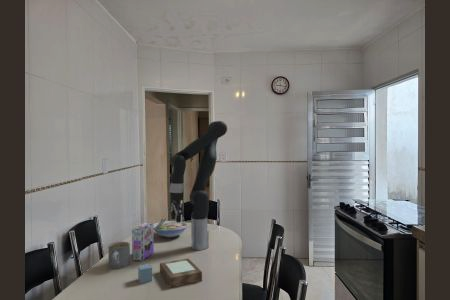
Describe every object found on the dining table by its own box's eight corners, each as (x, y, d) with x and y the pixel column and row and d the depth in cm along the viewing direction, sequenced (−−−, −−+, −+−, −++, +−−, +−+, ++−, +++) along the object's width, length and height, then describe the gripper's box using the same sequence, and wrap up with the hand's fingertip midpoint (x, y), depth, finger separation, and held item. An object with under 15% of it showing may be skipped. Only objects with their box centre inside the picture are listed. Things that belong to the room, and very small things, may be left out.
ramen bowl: (184, 242, 188) (184, 228, 188) (147, 242, 188) (147, 228, 188) (190, 230, 213) (189, 219, 213) (157, 230, 213) (157, 219, 213)
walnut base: (188, 266, 149) (188, 257, 149) (201, 281, 133) (201, 271, 133) (159, 271, 143) (159, 262, 143) (170, 287, 127) (170, 277, 127)
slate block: (149, 277, 138) (149, 263, 138) (152, 281, 133) (152, 267, 133) (138, 279, 136) (138, 265, 136) (140, 283, 131) (140, 269, 131)
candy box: (142, 261, 156) (142, 229, 156) (131, 260, 157) (131, 228, 157) (154, 252, 170) (153, 222, 170) (144, 251, 171) (144, 222, 171)
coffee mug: (115, 260, 158) (115, 241, 158) (133, 261, 156) (133, 242, 156) (100, 271, 144) (100, 249, 144) (120, 272, 143) (120, 250, 143)
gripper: (187, 192, 165) (186, 222, 165) (178, 189, 178) (177, 217, 178) (174, 193, 162) (173, 224, 162) (166, 189, 174) (165, 218, 174)
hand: (175, 220), depth 170 cm, fingers open, 8 cm apart
